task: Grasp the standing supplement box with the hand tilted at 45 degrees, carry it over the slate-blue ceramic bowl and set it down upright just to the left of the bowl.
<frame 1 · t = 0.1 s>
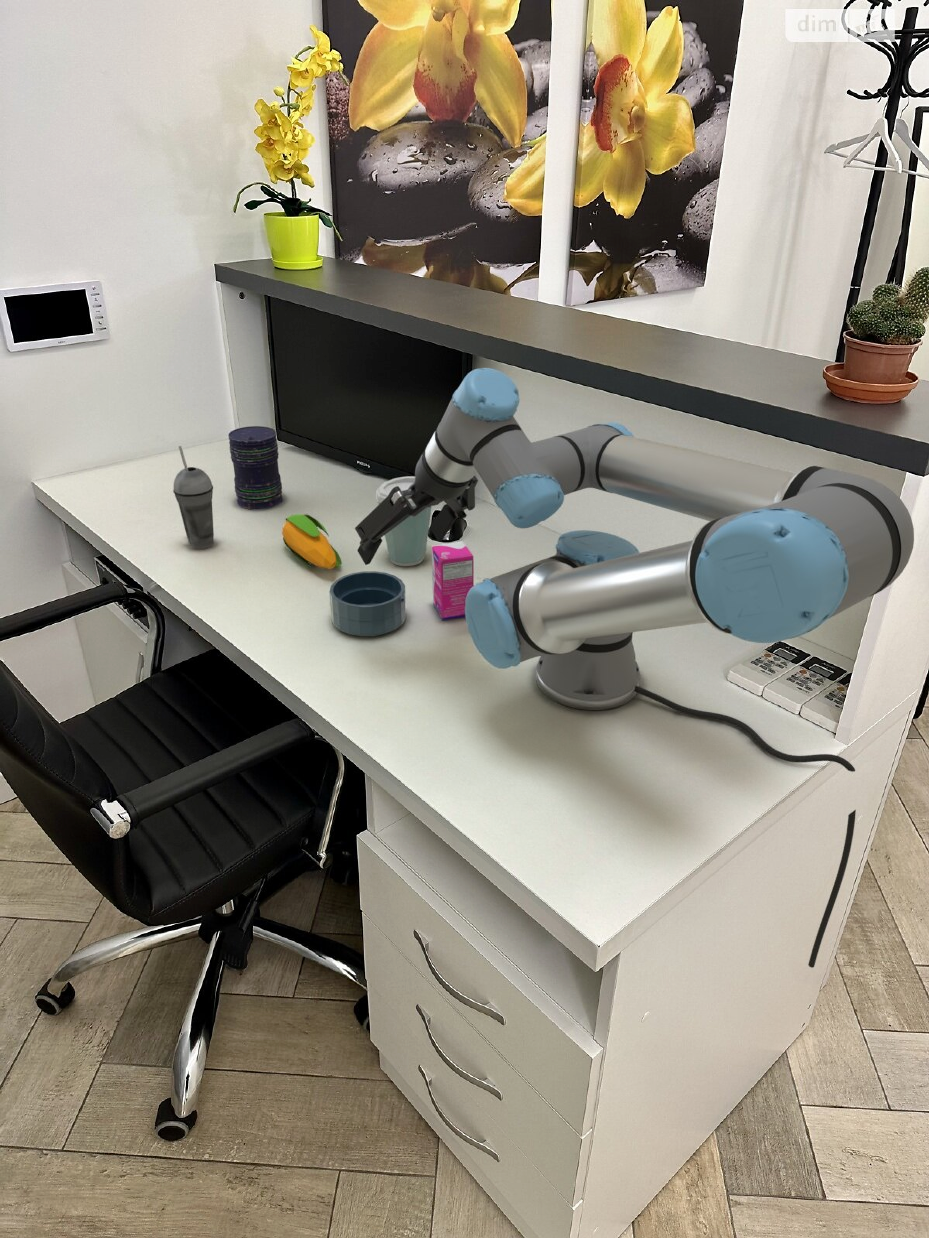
hand: (400, 545, 138), 15 cm above the table, tool tilted 35°, fingers open, 13 cm apart
supplement box: (453, 611, 151), on the table
storage jar: (260, 501, 191), on the table
bowl: (369, 620, 148), on the table
disposable coffee cup: (406, 559, 168), on the table
corn: (314, 561, 167), on the table
beverage cup: (202, 545, 173), on the table
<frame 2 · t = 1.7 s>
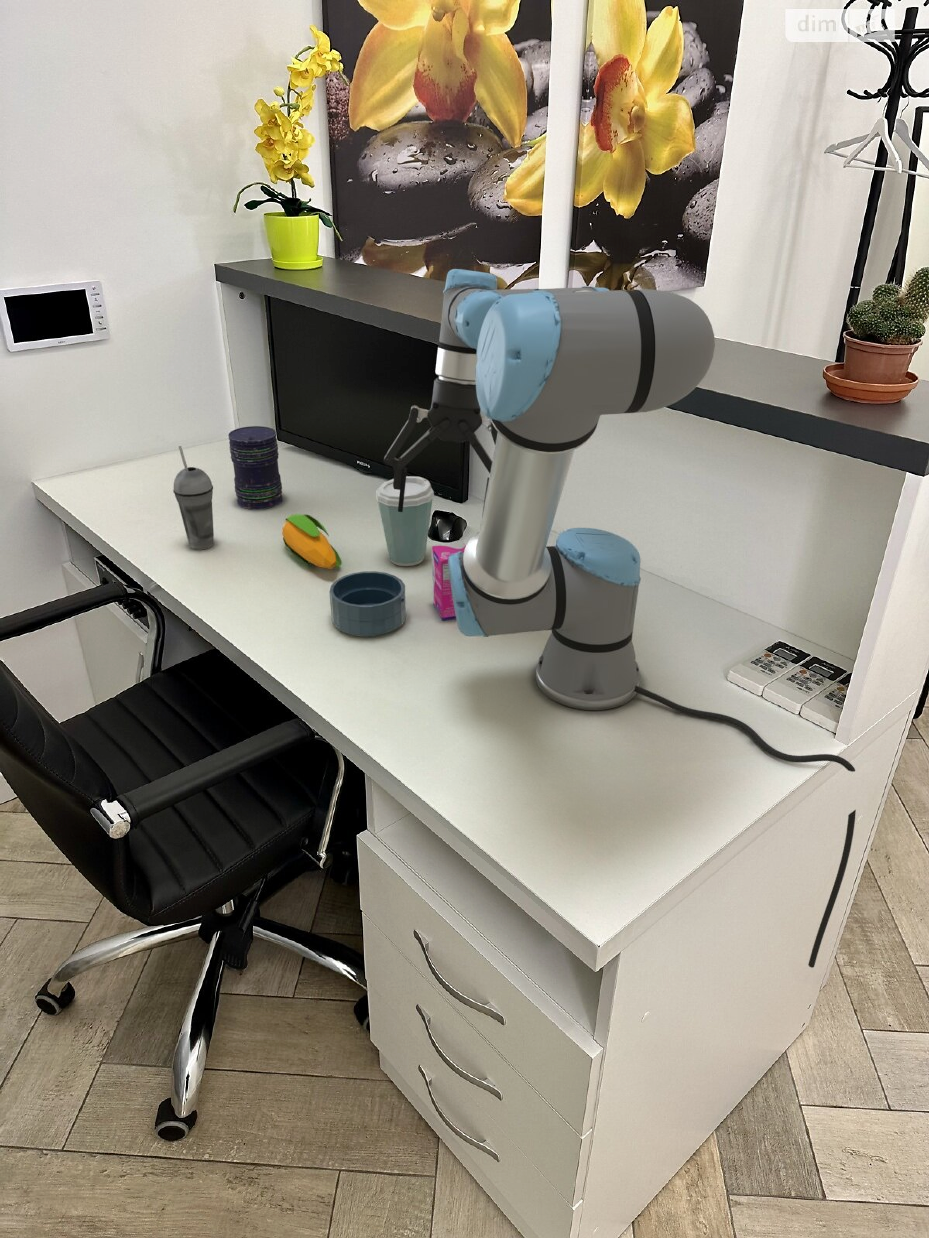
hand: (442, 514, 142), 17 cm above the table, tool pointing down, fingers open, 13 cm apart
nothing on the table moved.
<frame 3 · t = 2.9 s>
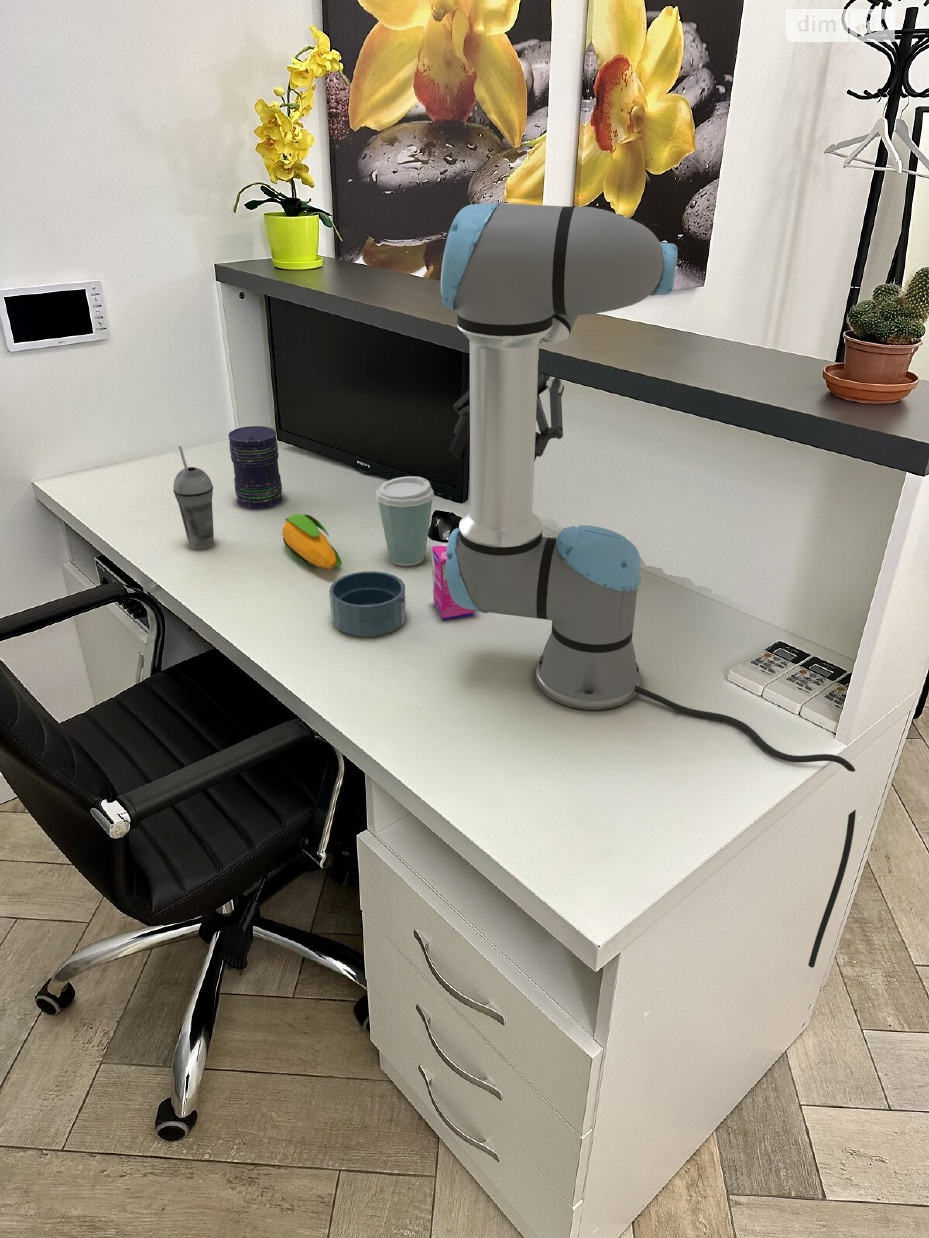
hand: (487, 462, 146), 24 cm above the table, tool tilted 45°, fingers open, 13 cm apart
nothing on the table moved.
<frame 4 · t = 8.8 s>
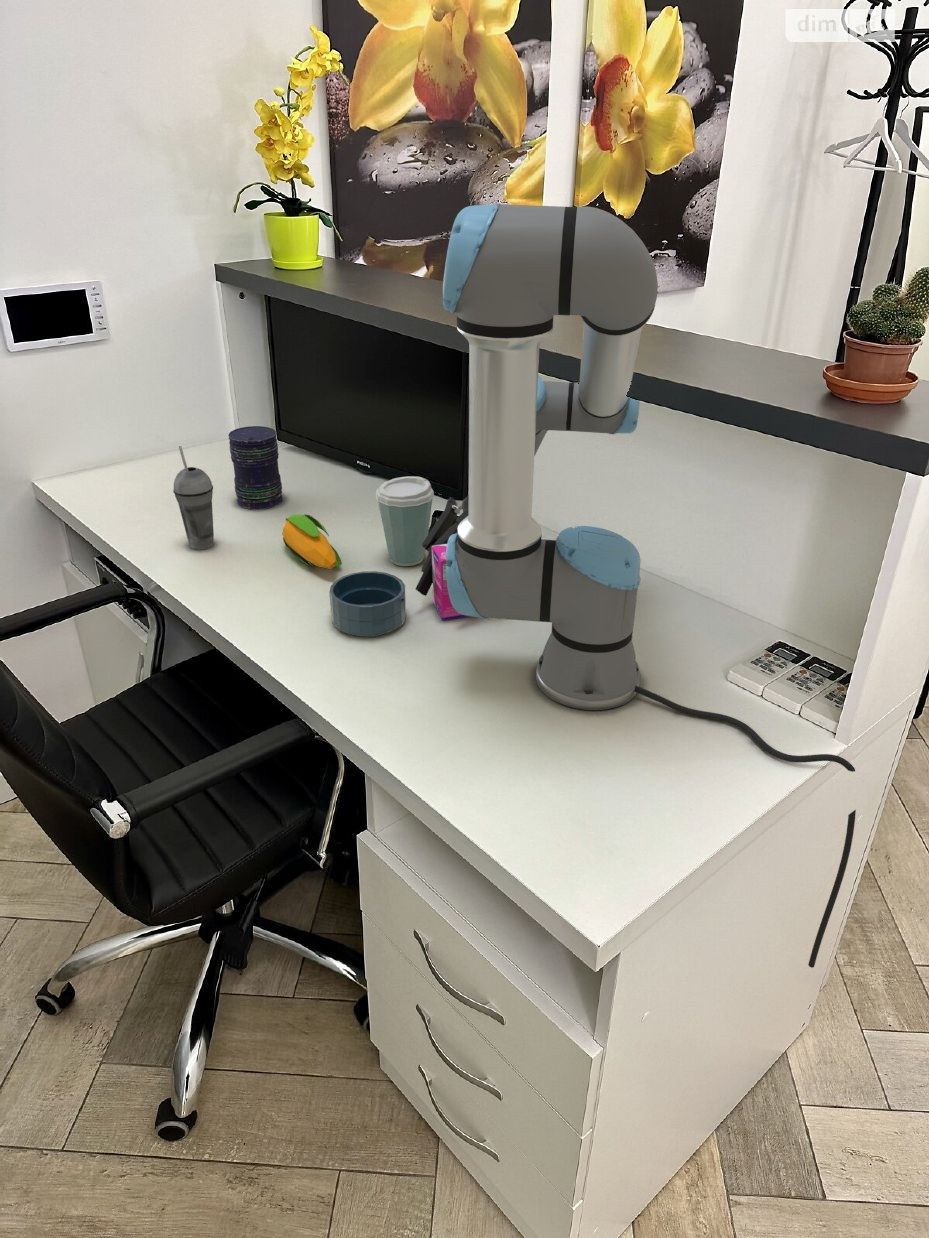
hand: (440, 599, 147), 4 cm above the table, tool tilted 45°, fingers closed on supplement box, 8 cm apart
supplement box: (453, 611, 151), on the table, touching gripper
everything else where it was.
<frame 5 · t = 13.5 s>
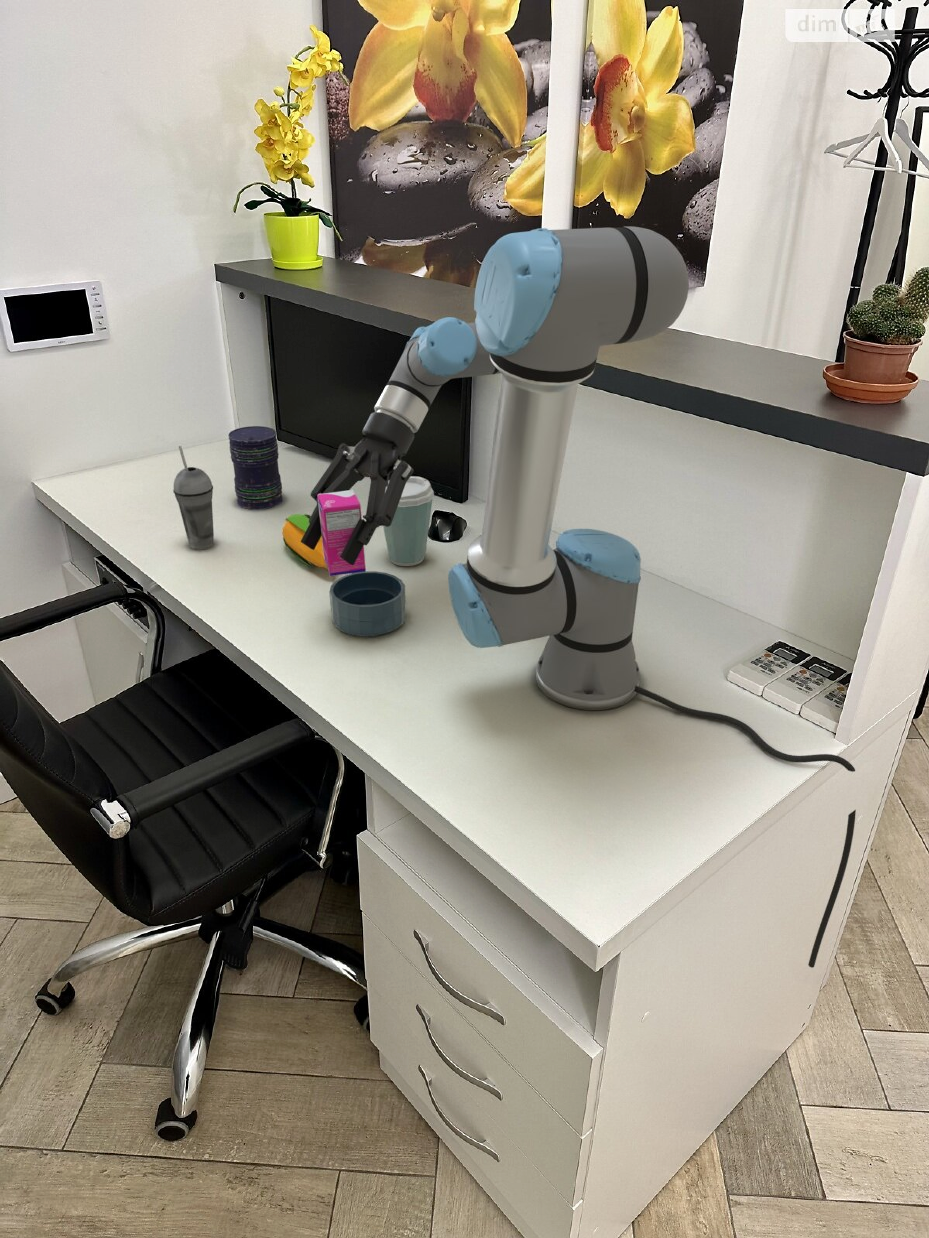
hand: (326, 553, 134), 16 cm above the table, tool tilted 45°, fingers closed on supplement box, 8 cm apart
supplement box: (344, 567, 138), point 12 cm above the table, touching gripper
everything else where it was.
when the fingers open (4 cm above the table, at t = 18.2 s): supplement box stays where it is, on the table.
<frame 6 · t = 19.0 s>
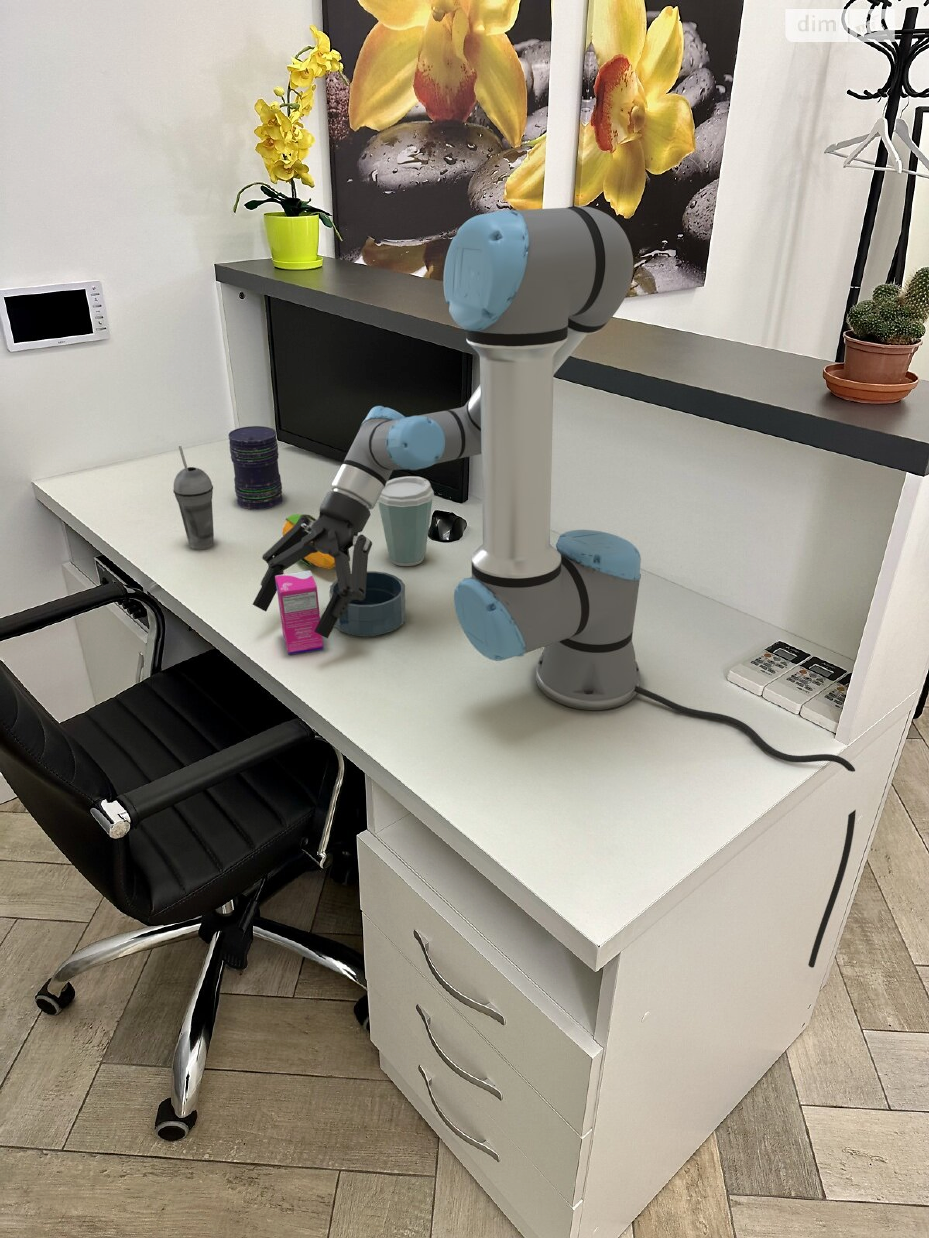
hand: (289, 621, 137), 5 cm above the table, tool tilted 45°, fingers open, 13 cm apart
supplement box: (303, 644, 141), on the table
everything else where it was.
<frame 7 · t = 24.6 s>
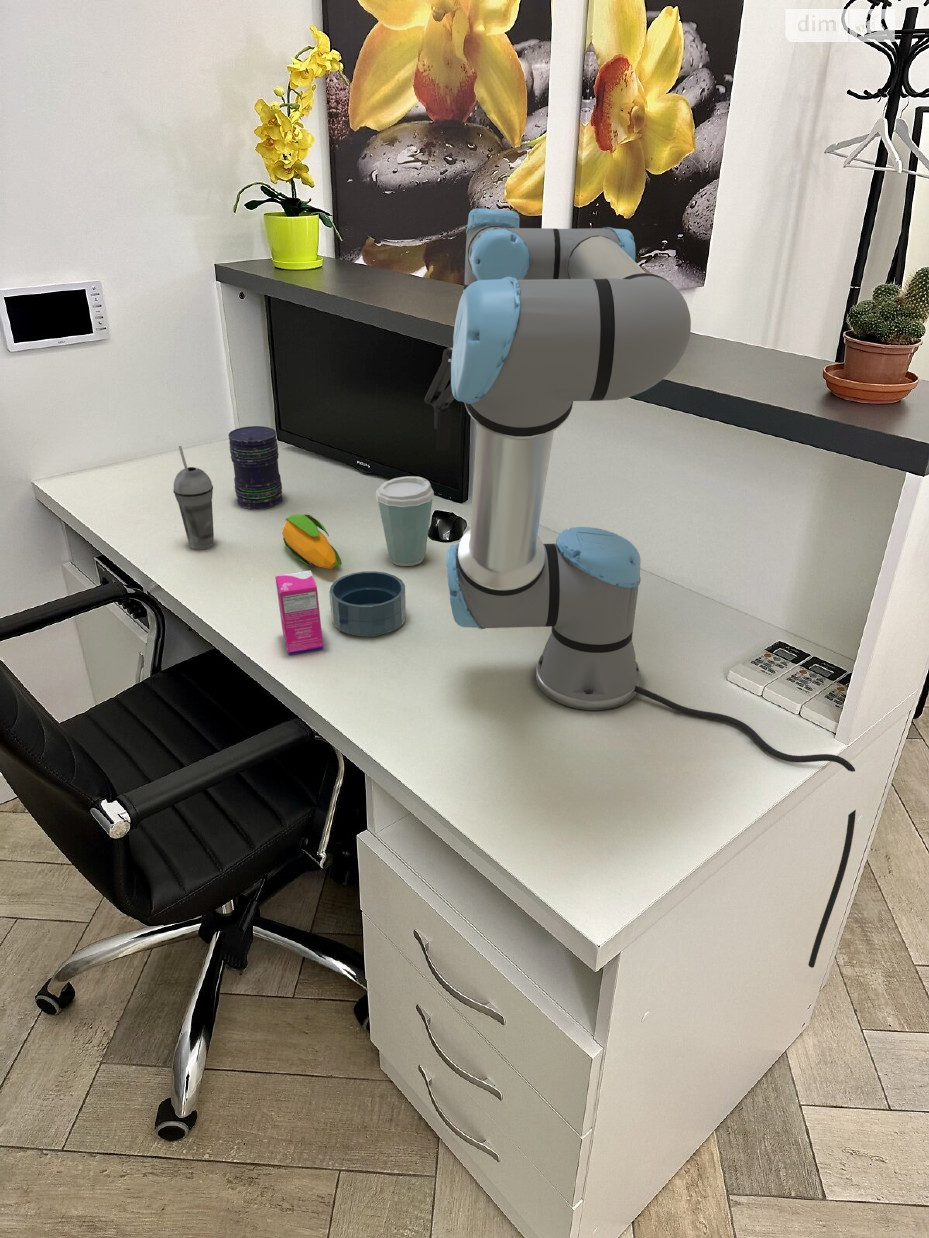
hand: (476, 458, 144), 25 cm above the table, tool pointing down, fingers open, 13 cm apart
nothing on the table moved.
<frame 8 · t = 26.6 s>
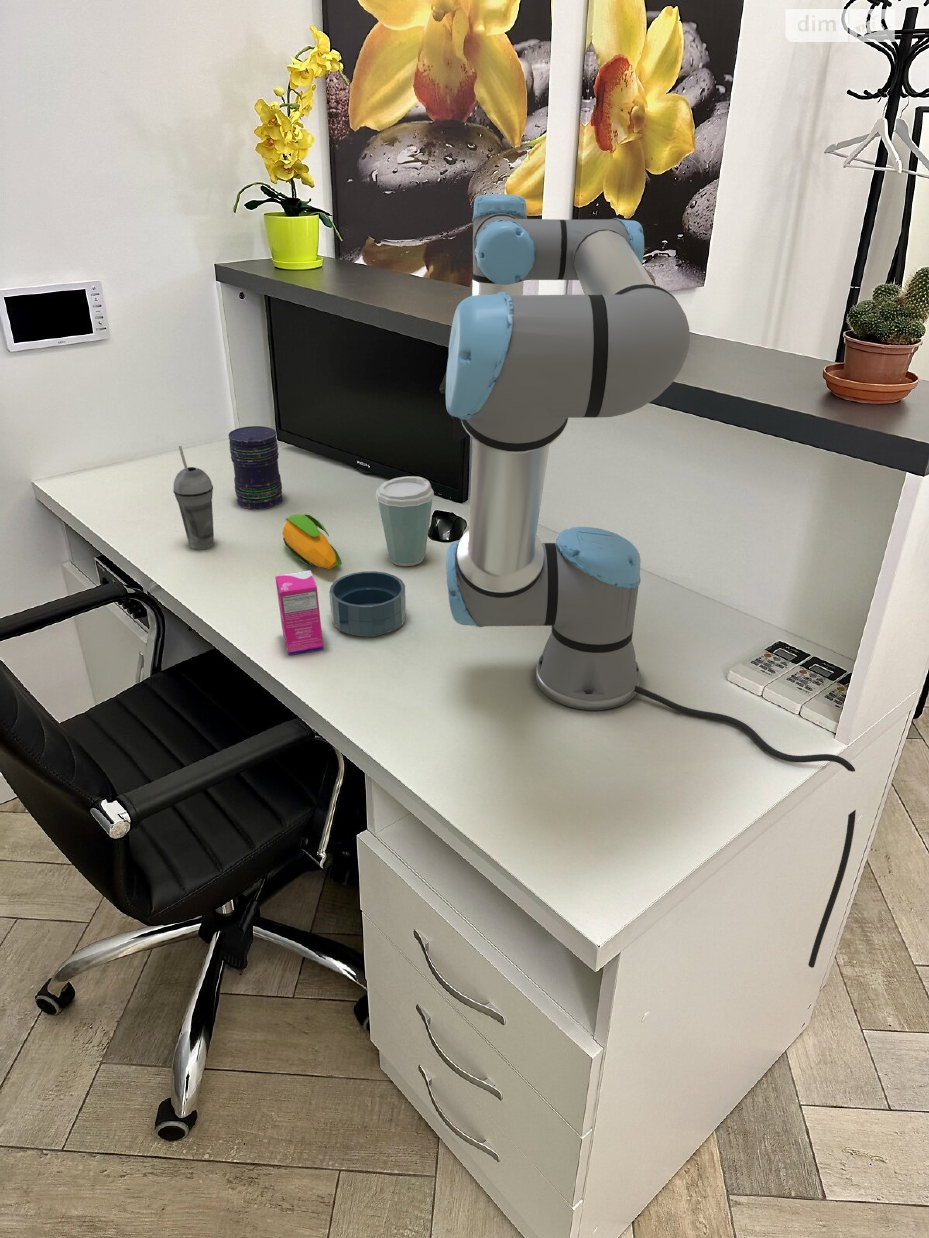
hand: (493, 447, 143), 27 cm above the table, tool pointing down, fingers open, 13 cm apart
nothing on the table moved.
at the end: supplement box inside the target area on the table beside the bowl (0.4 cm from its centre), on the table; supplement box tilted 0°; the gripper is holding nothing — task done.
